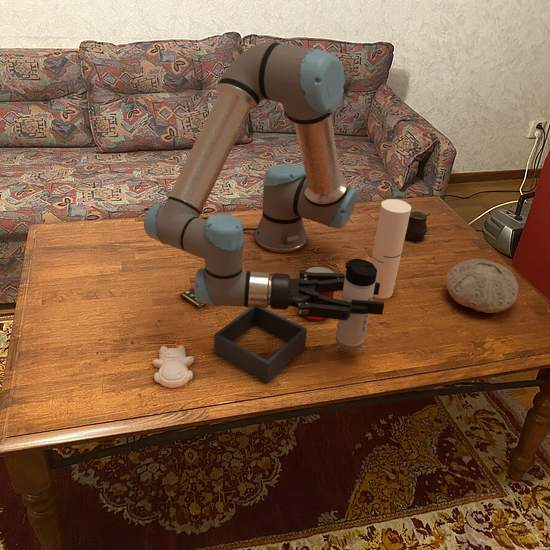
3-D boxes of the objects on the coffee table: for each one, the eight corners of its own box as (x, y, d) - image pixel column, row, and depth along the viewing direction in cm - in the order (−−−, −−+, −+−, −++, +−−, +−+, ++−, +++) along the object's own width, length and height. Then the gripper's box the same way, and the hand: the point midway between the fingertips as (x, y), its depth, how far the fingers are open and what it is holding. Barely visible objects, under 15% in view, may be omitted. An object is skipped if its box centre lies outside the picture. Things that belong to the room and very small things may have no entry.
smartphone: (179, 296, 139) (179, 293, 139) (223, 274, 149) (223, 271, 148) (198, 309, 136) (198, 306, 135) (242, 285, 145) (242, 282, 144)
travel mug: (331, 331, 124) (342, 256, 113) (360, 331, 125) (374, 256, 114) (336, 350, 119) (348, 272, 108) (366, 350, 120) (381, 273, 109)
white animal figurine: (195, 349, 124) (195, 338, 122) (191, 388, 114) (191, 377, 112) (155, 349, 123) (154, 338, 121) (148, 388, 113) (147, 377, 111)
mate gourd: (407, 229, 176) (413, 200, 171) (429, 237, 173) (436, 208, 167) (397, 237, 171) (403, 208, 166) (420, 246, 168) (426, 216, 162)
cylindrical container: (392, 300, 144) (411, 214, 130) (364, 296, 144) (380, 210, 131) (393, 285, 149) (411, 201, 135) (366, 281, 150) (381, 197, 136)
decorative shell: (494, 331, 135) (506, 298, 130) (429, 299, 145) (438, 267, 139) (523, 301, 147) (535, 269, 141) (461, 273, 156) (470, 243, 151)
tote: (213, 353, 123) (213, 334, 120) (254, 321, 133) (255, 303, 130) (266, 383, 116) (268, 364, 113) (305, 347, 126) (307, 329, 123)
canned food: (334, 307, 140) (339, 270, 134) (326, 325, 133) (331, 288, 127) (305, 299, 142) (309, 263, 135) (295, 317, 135) (299, 280, 129)
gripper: (271, 279, 126) (372, 286, 126) (267, 334, 110) (383, 342, 110) (273, 251, 121) (378, 258, 122) (269, 303, 105) (390, 312, 106)
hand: (380, 298), depth 116 cm, fingers closed on travel mug, 6 cm apart
